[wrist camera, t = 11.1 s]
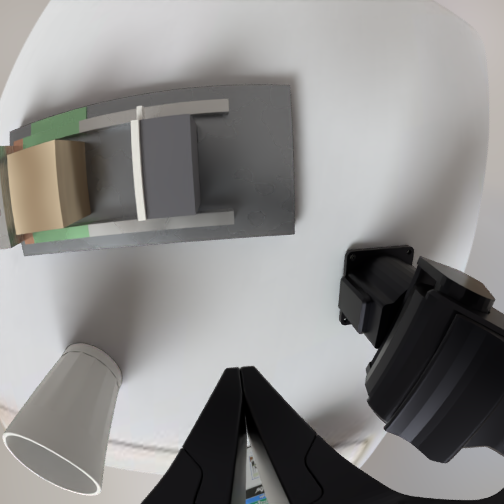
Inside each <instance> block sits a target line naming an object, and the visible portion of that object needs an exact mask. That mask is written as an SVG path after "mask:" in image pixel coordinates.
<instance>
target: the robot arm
mask: <svg viewBox="0 0 504 504" xmlns="http://www.w3.org/2000/svg"><path fill="white" fill-rule="evenodd" d="M408 250H409V252H408V253H407V251H408ZM413 254H414V249H413V248H412V247H411V246H409V245H404V246H392V247H379V248H367V249H354V250H349V251H347V252H346V254H345V260H344V274H343V277H342V278H341V282H340V294H339V304H338V307H339V308H340V315H339V321H340V322H341V324H342V325H349V324H352V325H353V327H354V328H355V329H356V331H357V332H358V333H359V334H363V333H364V334H365V336H366V337H367V338H368V339H369V341H370V342H371V343H372V345H373V346H374V347H375V348H376V349H378V351H377V353H376V354H375V356H374V358H373V360H372V361H371V362H369V364H368V366H367V367H366V372H367V376H366V381H365V386H366V389H367V392H368V395H369V398H368V399H367V402H368V404H369V406H370V407H371V409H372V410H373V411H374V413H375V414H376V415H377V416H378V417H379V418H380V419H381V420H382V421H383V422H384V423H385V424H386V425H385V426H384V430H385V431H387V432H390V433H392V434H395V435H397V436H400V437H401V438H403V439H405V440H406V441H408V442H410V443H411V444H412V445H414V446H415V447H416V448H417V449H419V450H420V451H421V452H422V453H423V454H424V455H425V456H426V457H427V458H429V459H430V460H432V461H436V462H441V463H447V462H449V461H450V460H451V459H452V458H453V457H454V456H455V455H456V454H457V453H458V452H459V451H460V450H461V449H462V448H472V447H488V448H490V449H492V450H494V451H496V452H497V453H499V454H500V455H502V456H504V314H503V313H501V312H499V311H498V310H496V309H495V308H493V307H492V305H493V303H494V301H495V298H494V297H493V296H492V294H491V293H490V292H489V291H488V290H487V288H486V287H485V286H484V285H483V283H481V282H480V281H478V280H476V279H474V278H472V277H470V276H469V275H467V274H465V273H463V272H461V271H459V270H457V269H454V268H451V267H449V266H446V265H443V264H441V263H438V262H435V261H432V260H429V259H427V258H424V257H421V256H420V257H419V260H418V262H417V265H418V266H417V269H416V268H414V267H413V266H412V261H413ZM351 255H353V258H352V259H350V256H351ZM345 318H347V319H346V320H344V319H345ZM246 427H247V430H246ZM247 434H248V438H249V442H250V445H251V449H252V452H253V456H254V459H255V463H256V466H257V469H258V473H259V476H260V479H261V483H262V486H263V489H264V492H265V495H266V498H267V502H268V504H504V488H503V489H502V490H501V491H499V492H498V493H497V494H495V495H493V496H491V497H488V498H484V499H480V500H446V499H445V500H444V499H433V498H423V497H414V496H408V495H404V494H401V493H398V492H396V491H394V490H391V489H390V488H388V487H387V486H385V485H383V484H382V483H380V482H379V481H377V480H375V479H374V478H372V477H371V476H369V475H368V474H366V473H364V472H363V471H362V470H360V469H359V468H357V467H356V466H355V465H353V464H352V463H350V462H349V461H348V460H346V459H345V458H344V457H342V456H341V455H340V454H339V453H337V452H336V451H335V450H334V449H333V448H332V447H331V446H330V445H329V444H327V443H326V442H325V441H324V440H323V439H322V438H321V437H320V436H319V435H317V433H316V432H315V431H314V430H313V429H312V428H311V427H310V426H309V425H308V424H307V423H306V422H305V421H304V420H303V419H302V418H301V417H300V415H299V414H298V413H297V412H296V411H295V410H294V409H293V408H292V407H291V406H290V405H289V404H288V403H287V402H286V401H285V400H284V399H283V397H282V396H281V395H280V394H279V393H278V392H277V391H276V390H275V389H274V388H273V387H272V385H271V384H270V383H269V382H268V381H267V380H266V379H265V378H264V377H263V375H262V374H261V373H260V372H259V371H258V370H257V369H256V368H255V367H254V366H245V367H241V368H238V367H233V368H226V369H225V370H224V372H223V374H222V376H221V378H220V380H219V382H218V383H217V385H216V387H215V389H214V391H213V393H212V394H211V396H210V398H209V400H208V402H207V403H206V405H205V407H204V409H203V411H202V412H201V414H200V416H199V418H198V420H197V421H196V423H195V425H194V427H193V429H192V430H191V432H190V434H189V436H188V437H187V439H186V441H185V443H184V444H183V446H182V447H183V448H181V449H180V451H179V453H178V455H177V456H176V458H175V460H174V461H173V463H172V464H171V466H170V467H169V469H168V470H167V472H166V473H165V475H164V476H163V478H162V479H161V480H160V481H159V483H158V484H157V485H156V486H155V487H154V489H153V490H152V491H151V492H150V493H149V495H148V496H147V497H146V498H145V499H144V500H143V502H142V503H141V504H246V462H247Z"/></svg>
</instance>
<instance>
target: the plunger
mask: <svg viewBox="0 0 504 504" xmlns="http://www.w3.org/2000/svg"><path fill="white" fill-rule="evenodd" d="M130 139H131V158H132V172H133V184H134V194H135V204H136V212H137V220H138V221H143V220H147V219H156V218H167V217H178V216H190V215H196V213H197V211H198V209H199V206H200V204H201V197H200V182H199V166H198V148H197V126H196V122H195V121H194V119H193V118H192V116H191V115H190V114H180V115H171V116H163V117H156V118H149V119H145V114H144V107H143V106H137V120H132V121H130Z"/></svg>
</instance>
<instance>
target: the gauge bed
mask: <svg viewBox="0 0 504 504" xmlns="http://www.w3.org/2000/svg"><path fill="white" fill-rule="evenodd" d="M137 106H143V107H144V114H145V119H149V118H156V117H163V116H171V115H180V114H190V115H191V116H192V118H193V119H194V121H195V122H196V126H197V148H198V166H199V182H200V197H201V204H200V206H199V209H198V211H197V213H196V215H190V216H178V217H167V218H156V219H147V220H143V221H138V220H137V212H136V204H135V194H134V184H133V172H132V158H131V139H130V121H132V120H137ZM52 140H68V141H82V142H85V159H86V173H87V184H88V193H89V202H90V209H91V214H90V215H88V216H86V217H84V218H82V219H80V220H78V221H76V222H74V223H72V224H70V225H69V226H67V227H65V228H60V229H53V230H46V231H39V232H33V233H26V234H23V235H24V240H25V241H23V242H21V244H22V249H23V253H24V256H32V255H42V254H52V253H62V252H73V251H84V250H95V249H106V248H117V247H129V246H141V245H153V244H165V243H178V242H191V241H204V240H218V239H232V238H246V237H261V236H276V235H292V234H295V225H294V164H293V135H292V113H291V94H290V85H222V86H206V87H194V88H184V89H175V90H167V91H160V92H153V93H147V94H141V95H135V96H130V97H125V98H120V99H115V100H110V101H106V102H101V103H97V104H93V105H89V106H85V107H82V108H78V109H74V110H71V111H67V112H64V113H61V114H57V115H54V116H51V117H48V118H45V119H42V120H39V121H37V122H34V123H31V124H28V125H26V126H23V127H20V128H18V129H15V130H13V131H11V132H10V146H14V152H17V151H20V150H23V149H26V148H29V147H32V146H35V145H39V144H42V143H45V142H48V141H52Z"/></svg>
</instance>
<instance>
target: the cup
mask: <svg viewBox="0 0 504 504" xmlns="http://www.w3.org/2000/svg"><path fill="white" fill-rule="evenodd" d="M121 383H122V375H121V371H120V369H119V367H118V366H117V364H116V363H115V362H114V360H113V359H112V358H111V357H110V356H109V355H107V354H106V353H105V352H103V351H102V350H100V349H98V348H96V347H94V346H92V345H88V344H84V343H76V344H72V345H70V346H69V347H68V348H67V349H66V350H65V352H64V353H63V355H62V356H61V358H60V359H59V360H58V361H57V363H56V364H55V365H54V366H53V368H52V369H51V370H50V371H49V373H48V374H47V375H46V376H45V378H44V379H43V380H42V382H41V383H40V384H39V386H38V387H37V388H36V390H35V391H34V392H33V394H32V395H31V396H30V398H29V399H28V400H27V402H26V403H25V404H24V406H23V407H22V408H21V410H20V411H19V413H18V414H17V415H16V417H15V418H14V419H13V421H12V422H11V424H10V425H9V426H8V428H7V429H6V431H5V432H4V434H3V436H2V438H3V441H4V443H5V445H6V447H7V448H8V450H9V451H10V452H11V453H12V455H13V456H14V457H15V458H16V459H17V460H18V461H19V462H20V463H22V464H23V465H24V466H25V467H27V468H28V469H29V470H30V471H32V472H33V473H35V474H36V475H38V476H39V477H41V478H43V479H44V480H46V481H48V482H50V483H52V484H54V485H56V486H58V487H60V488H62V489H65V490H68V491H71V492H74V493H78V494H83V495H97V494H99V493H100V492H101V489H102V480H103V471H104V464H105V456H106V450H107V445H108V439H109V434H110V428H111V423H112V418H113V414H114V409H115V404H116V400H117V395H118V392H119V389H120V386H121Z"/></svg>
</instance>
